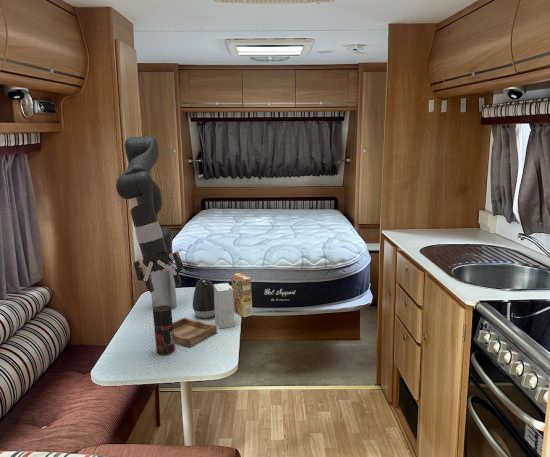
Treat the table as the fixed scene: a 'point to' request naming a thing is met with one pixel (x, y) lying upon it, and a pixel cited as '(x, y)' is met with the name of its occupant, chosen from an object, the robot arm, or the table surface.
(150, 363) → the table surface
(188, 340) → the tray
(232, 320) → the skincare box
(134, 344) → the table surface
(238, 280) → the candy box
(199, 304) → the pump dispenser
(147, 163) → the robot arm
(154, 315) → the deodorant
